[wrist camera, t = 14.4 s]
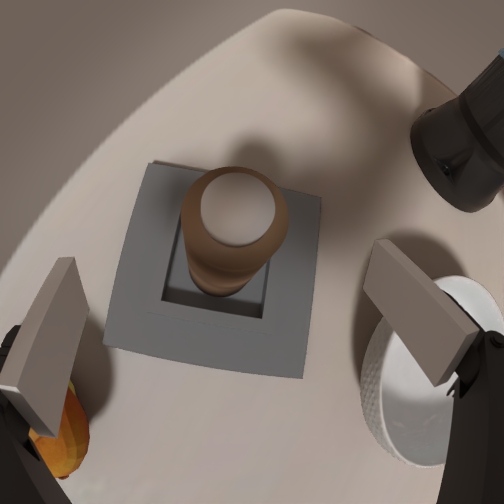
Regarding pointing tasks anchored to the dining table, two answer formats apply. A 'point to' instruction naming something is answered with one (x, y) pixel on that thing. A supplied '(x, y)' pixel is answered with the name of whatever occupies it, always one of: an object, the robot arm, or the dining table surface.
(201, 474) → the dining table surface
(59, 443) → the cheeseburger
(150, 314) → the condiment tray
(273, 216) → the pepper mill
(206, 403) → the dining table surface
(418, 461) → the cereal bowl
